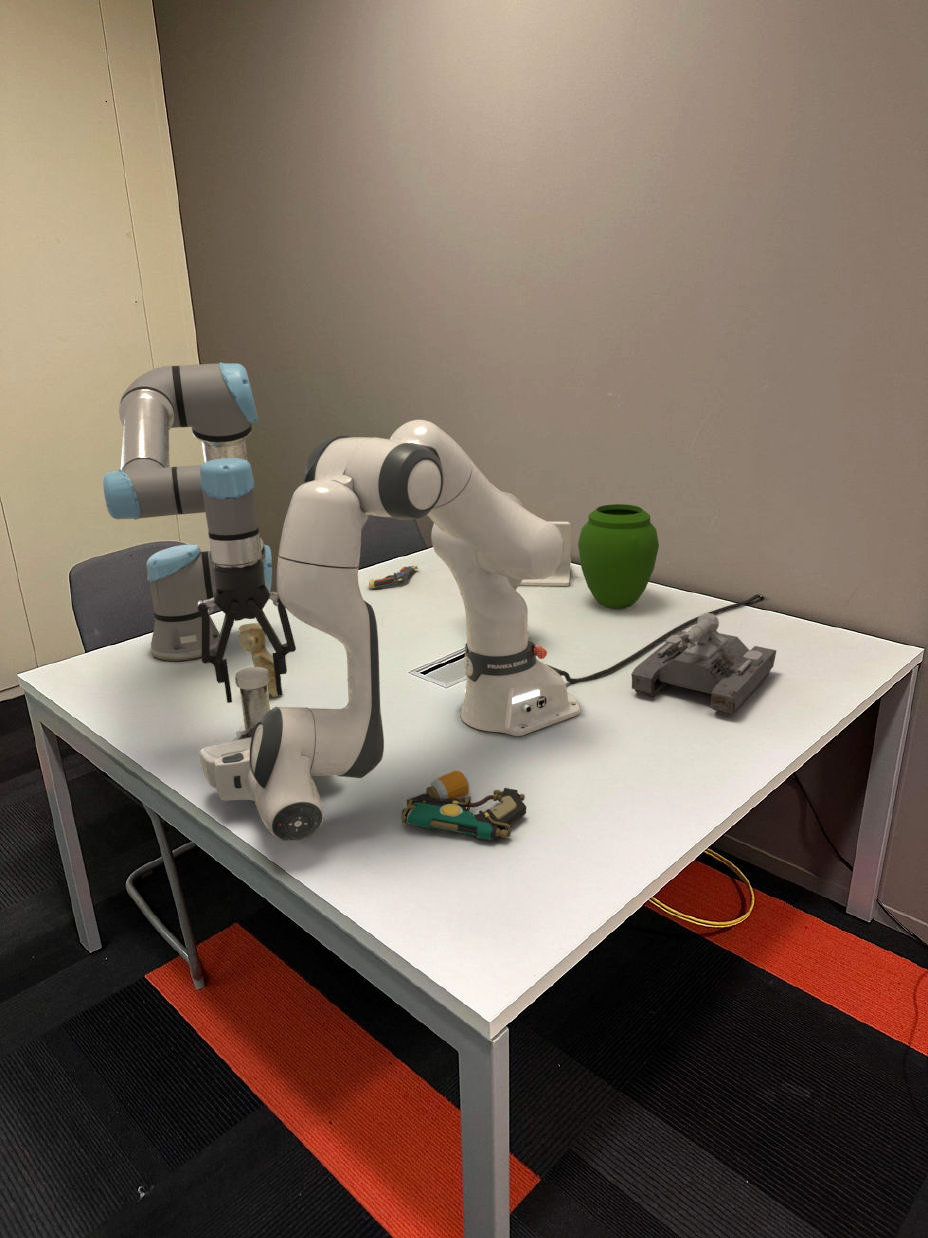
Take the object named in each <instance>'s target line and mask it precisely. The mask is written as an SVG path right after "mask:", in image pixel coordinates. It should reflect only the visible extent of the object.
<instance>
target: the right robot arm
mask: <svg viewBox="0 0 928 1238" xmlns="http://www.w3.org/2000/svg"><path fill="white" fill-rule="evenodd" d="M304 471H305V472H304V476H303V477H304V478H303V484H300V486H298V487H297V488H296V490H295V491H294V492H293V495H292V497H291V500H290V503H289V505H288V508H287V511H286V516H285V518H284V519H285V520H284V524H283V527H282V531H281V537H280V541H279V547H278V548H279V549H278V556H277V564H276V576H275V577H276V578H275V579H276V582H275V584H276V592H277V593H278V596H279V598H280V600H281V602H282V604H283V605H284V606H285V608H286V611H288V612H289V613H290V614H291V615H292V616H293V617H295V619H297V620H299V621H300V622H302V623H304V624H306V625H308V626H310V627H311V628H314V629H316V630H318V631H320V632H322V633H324V634H326V635H329V636H330V637H332V638H334V639H336V640H337V641H338V642H340V644H342V646H343V648H344V650H345V653H346V666H347V668H346V669H347V690H348V691H347V694H348V700H347V701H348V702H347V704H346V706H344V707H342V708H322V707H321V708H319V707H318V708H316V707H307V706H306V707H305V706H275V707H273V708H270V711H269V712H267V713H266V714H265V715H264V716H263V717H262V719H261V720H260V721H259V722H258V723H257V725H256V726H255V728H254V731H253V734H252V737H250V738H247V734H246V732H245V729H244V730H240V731H236V732H235V733H236V734H235V735H236V736H235V737H234V738H233V740H232V741H227V742H222V743H218V744H212V745H208V746H204V747H203V748H202V749H200V751H199V759H200V765H201V770H202V773H203V775H204V777H205V779H206V781H207V782H208V784H209V785H210V787H212V788H213V789H215V790H217V794H218V797H219V799H220V800H221V801H225V802H226V801H227V802H228V801H254V804H255V807H256V810H257V812H258V814H259V817H260V819H261V821H262V822H263V824H264V826H265V828H266V829H267V830H268V831H269V833H270V834H271V835H272V836H274V837H275V838H277V839H279V840H281V841H287V842H294V841H301V840H304V839H306V838H309V837H311V836H312V835H314V834H315V833H316V832H317V831H318V830H319V829H320V827H321V826H322V824H323V821H324V807H323V803H322V799H321V796H320V792H319V790H318V787H317V785H316V783H315V781H314V779H313V778H312V777H313V776H314V777H315V776H336V777H342V778H354V779H362V778H364V777H366V776H367V775H368V774H370V773H371V772H372V771H373V770H374V769H375V768H376V767H377V766H378V765H379V764H380V763H381V761H382V760H383V756H384V753H385V737H384V728H383V727H384V726H383V720H382V712H381V711H382V710H381V687H380V685H381V684H380V683H381V681H380V651H379V649H380V648H379V634H378V623H377V618H376V615H375V614H376V613H375V610H374V608H373V606H372V605H371V604H370V603H369V602H367V601H366V600H365V599H364V598H363V595H362V593H361V589H360V584H359V566H360V560H361V559H360V557H361V550H362V549H361V546H362V530H363V528H364V526H365V524H366V523H367V521H368V519H369V518H370V517H369V516H372V517H380V518H381V517H382V518H393V519H396V520H398V521H409V520H410V521H412V520H418V519H422V518H424V517H426V516H427V517H428V518H429V519H430V521H432V522H433V525H432V528H431V534H430V535H431V536H430V539H431V545H432V548H433V551H434V553H435V554H436V555H437V557H439V558H440V559H441V560H442V562H444V564H445V565H446V566H447V568H448V569H449V571H450V572H451V575H452V576H453V578H454V581H455V583H456V584H457V587H458V590H459V593H460V596H461V598H462V602H463V606H464V613H465V615H464V616H465V627H466V629H465V630H466V643H465V645H464V671H465V675H466V680H465V681H466V682H465V690H464V698H463V702H462V707H461V710H460V713H459V715H460V719H461V721H462V722H463V723H464V724H466V725H467V726H469V727H471V728H473V729H476V730H479V731H483V732H491V733H502V734H506V735H508V736H509V735H510V736H513V737H523V736H525V735H527V734H530V733H533V732H537V731H539V730H541V729H545V728H546V727H547V728H548V727H549V726H552V725H555V724H558V723H560V722H563V721H566V720H568V719H571V718H574V717H577V716H579V715H581V708H580V707H581V706H580V703H579V702H578V700H577V699H576V698H575V697H574V696H573V695H572V694H571V693H569V691H568V690H567V689H568V688H567V684H566V682H565V680H566V681H567V682H568V683H569V684H578V683H579V684H580V683H584V682H588V681H591V680H594V679H597V678H599V677H603V676H606V675H608V674H610V673H613V672H614V671H616V670H618V669H619V668H621V667H622V666H624V665H626V664H628V663H630V662H631V661H633V660H635V659H636V658H638V657H640V656H642V655H643V654H644V653H646V652H648V651H649V650H651V649H652V648H653V647H655V646H657V645H658V644H659V643H661V642H662V641H664V640H666V639H668V638H669V637H670V636H671V635H675V633H678V632H680V631H681V630H682V629H684V628H687V627H688V626H690V625H692V624H694V623H697V620H698V618H699V616H700V615H699V616H698V615H697V616H696V617H694V618H692V619H689V620H687V621H685V622H683V623H682V624H679V625H678V626H675V627H674V628H673V629H670V630H669V631H668V632H665V633H664V634H663V635H661V636H659V637H658V638H657V639H655V640H653V641H652V642H650V643H649V644H647V645H646V646H644V647H643V648H641V649H640V650H638V651H636V652H635V653H633V654H632V655H629V656H628V657H626V658H625V659H623V660H621V661H619V662H617V663H616V664H614V665H612V666H611V667H608V668H606V669H602V670H600V671H598V672H595V673H593V674H590V675H588V676H584V677H579V678H572V677H571V676H570V673H568V671H565V670H562V669H560V668H557V667H554V666H552V665H549V664H547V663H544V662H543V661H541V660H544V659H546V657H547V656H548V650H547V649H546V648H545V647H543V646H542V645H537V644H536V643H534V642H533V641H531V640H529V627H528V626H529V625H528V623H529V622H528V621H529V620H528V619H529V609H528V606H527V603H526V601H525V598H523V596H522V595H521V594H520V592H518V591H517V589H516V590H515V589H514V588H513V587H512V586H511V584H510V583H509V581H508V579H507V577H510V578H514V579H519V580H536V579H546V578H548V577H550V576H551V575H552V574H553V573H554V572H555V571H556V570H557V568H558V567H559V565H560V563H561V561H562V558H563V554H564V542H563V538H562V535H561V533H560V531H559V529H558V528H557V527H556V526H555V525H554V524H552V523H549V522H550V521H547V520H545V519H543V518H541V517H539V516H537V515H536V514H534V513H532V512H530V511H529V510H528V509H526V508H525V507H524V506H523V507H524V508H523V507H522V506H521V505H519V504H518V503H517V502H515V501H514V500H512V499H511V498H510V497H508V496H507V495H505V494H504V493H503V492H504V491H501V490H500V489H498V488H497V487H496V486H495V485H494V484H493V483H492V482H491V481H490V480H489V479H488V478H487V477H486V476H485V474H484V473H483V472H482V471H481V470H480V469H479V467H478V466H477V465H476V464H475V462H474V461H473V460H472V458H471V457H470V456H469V455H468V454H467V453H466V451H465V450H464V449H463V448H462V447H461V445H460V444H458V443H457V442H456V441H455V440H454V439H453V438H452V437H451V436H450V435H449V434H448V433H446V432H445V431H444V430H443V429H442V428H440V427H439V426H437V424H435V423H433V422H432V421H429V420H425V419H414V420H410V421H407V422H405V423H403V424H402V425H400V426H399V427H398V428H397V429H395V431H394V432H393V433H392V434H391V436H390V438H382V437H376V436H375V437H368V436H366V437H365V436H363V437H362V436H355V437H353V436H349V435H336V436H331V437H327V438H325V439H323V440H320V442H318V443H317V444H316V446H315V447H314V448H313V449H312V450H311V453H310V455H309V457H308V459H307V462H306V465H305V470H304ZM759 594H760V593H757V594H755V595H753V596H751V597H749V598H748V599H746V600H742V601H740V602H736V603H731V604H730V605H726V606H722V607H720V608H717V609H714V610H711V611H709V612H707V613H710V614H714V615H717V614H720V613H723V612H726V611H729V610H733V609H736V608H740V607H743V606H746V605H748V604H750V603H752V602H754V601H755V600H757V599H760V600H763V601H764V600H766V598H765V596H763V595H762V597H760V595H761V594H760V595H759ZM563 677H564V678H565V680H564V679H563Z"/></svg>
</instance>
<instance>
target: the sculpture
mask: <svg viewBox="0 0 928 1238" xmlns="http://www.w3.org/2000/svg"><path fill="white" fill-rule="evenodd" d="M238 639H239V641H238V645H239V647H242V648H243V651H244V652H245V653H246V652H247V653H250V655H251V661H252V663H253V667H262V668H266V669H267V670H268V673H269V677H270V680H269V683H268V684H267V687H268V695H270V696H271V697H272V698H274V697H278V694H277V689H276V680H275V672H274V663H273V655H272V653H271V652H269V651H268V649H267V646H266V634H265V633H264V631H263V629H262V627H261V626H260V624H259V623H258V622H254V623H246V624H241V625H240V626H239V627H238ZM280 678H281V679H282V676H281V675H280Z"/></svg>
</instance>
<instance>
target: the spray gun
mask: <svg viewBox="0 0 928 1238" xmlns="http://www.w3.org/2000/svg"><path fill="white" fill-rule="evenodd" d="M470 789H471V786H470V782H469V779H468V777H467V775H466V774H465V773H464V772H462V771H461V770H459V769H457V770H453V771H450V772H448V773H446V774H443V775H441V776H439V777H437V778H434V779H433V780H432V781H431V782H430V783H429V786H427V787H426V789H425V793H422V794H418V795H415V796H412V797H409V798H407V799H406V800H405V801H406V803H405V804H406V807H405V808H403V809H402V810H401V825H406V824H408V825H412V826H417V827H422V828H426V829H439V830H445V831H449V832H455V833H461V834H465V835H471V836H473V837H476V838H477V839H481V840H487V841H493V840H496V838H497V837H501V838H503V839H507V838H509V837H511V833H512V828H511V825H513V824H514V823H515V822H517V821H518V820H519V819H521V818H522V817H523V816H524V815H526V814H527V805H526V803H524V802H523V801H525V799H526V795H525V794H524V793H519V792H518V791H519V790H518V789H514V788H510V787H509V788H508V787H504V788H503V790H500V789H494V790H493V794H489V795H487V796H484V797H483V798H482V799H480V800H478V801H475V802H472V796H471V795H468V794H469V792H470ZM464 797H466V798H465V800H464V799H461V798H464ZM489 801H493V802H499V805H497V806H495V807H493V808H492V809H486V812H484V811H483V810H482V809H480V810H478V813H476V814H474V813H473V812H471V811H470V810H471V809H472V808H477V807H480V806H482V805H484V804H486V803H487V802H489Z"/></svg>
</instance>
